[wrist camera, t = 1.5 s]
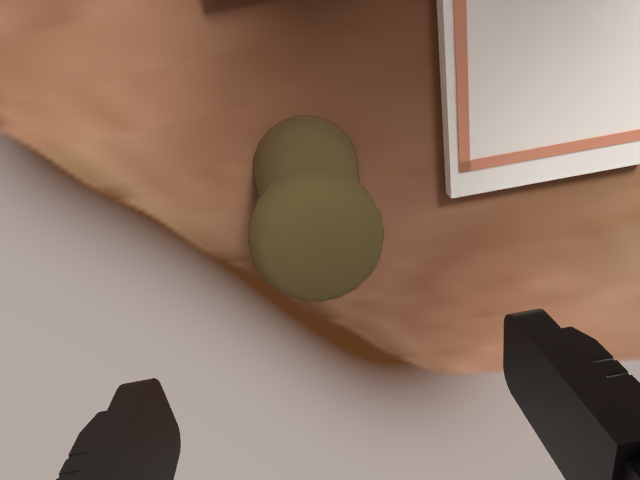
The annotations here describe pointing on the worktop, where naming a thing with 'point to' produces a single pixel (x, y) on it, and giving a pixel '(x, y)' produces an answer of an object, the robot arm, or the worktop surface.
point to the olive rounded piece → (312, 212)
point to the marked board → (537, 90)
